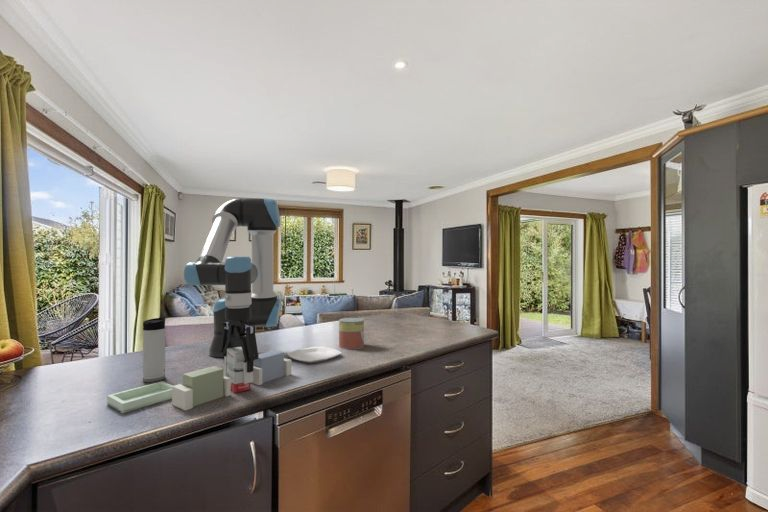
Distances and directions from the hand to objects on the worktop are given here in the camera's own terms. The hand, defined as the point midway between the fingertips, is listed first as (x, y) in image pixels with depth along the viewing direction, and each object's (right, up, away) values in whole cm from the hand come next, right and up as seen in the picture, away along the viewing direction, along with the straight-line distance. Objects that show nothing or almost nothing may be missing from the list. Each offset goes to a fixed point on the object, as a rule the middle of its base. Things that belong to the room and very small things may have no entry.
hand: (238, 379), depth 113 cm
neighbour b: (+6, -3, +9) cm, 11 cm away
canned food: (+30, -3, +52) cm, 60 cm away
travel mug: (-31, -3, +8) cm, 32 cm away
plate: (+17, -3, +35) cm, 39 cm away
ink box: (0, -3, 0) cm, 3 cm away
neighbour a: (-6, -3, -9) cm, 11 cm away
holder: (0, -3, 0) cm, 3 cm away
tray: (-23, -3, -10) cm, 25 cm away
